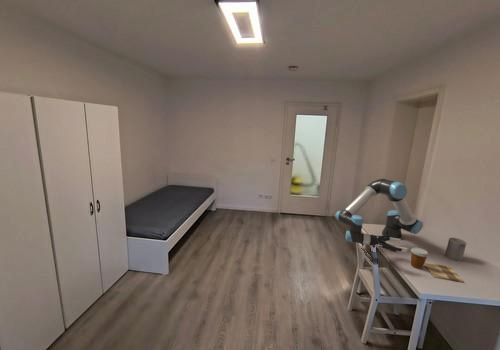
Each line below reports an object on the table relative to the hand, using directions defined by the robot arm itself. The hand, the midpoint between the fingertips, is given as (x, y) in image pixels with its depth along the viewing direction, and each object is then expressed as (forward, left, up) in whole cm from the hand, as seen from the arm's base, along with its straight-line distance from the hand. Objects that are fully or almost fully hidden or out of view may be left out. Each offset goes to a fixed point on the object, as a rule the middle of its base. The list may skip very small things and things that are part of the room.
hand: (403, 245), depth 156 cm
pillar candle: (-24, +42, -14) cm, 51 cm away
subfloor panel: (+1, +24, -14) cm, 28 cm away
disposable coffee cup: (0, +10, -14) cm, 17 cm away
